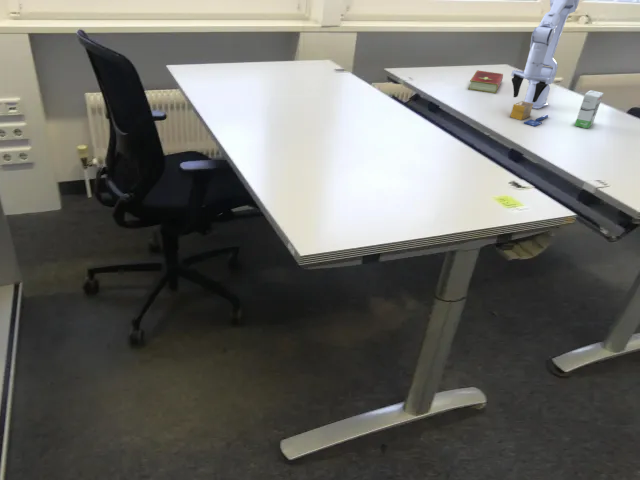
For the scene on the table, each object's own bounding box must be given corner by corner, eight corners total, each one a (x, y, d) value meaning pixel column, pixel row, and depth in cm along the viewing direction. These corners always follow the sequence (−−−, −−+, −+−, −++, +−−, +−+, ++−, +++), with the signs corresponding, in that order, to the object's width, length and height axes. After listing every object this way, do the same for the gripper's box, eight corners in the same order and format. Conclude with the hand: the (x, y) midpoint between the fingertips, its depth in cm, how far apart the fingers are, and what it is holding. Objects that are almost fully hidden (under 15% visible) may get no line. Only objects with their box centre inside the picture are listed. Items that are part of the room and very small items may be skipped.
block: (518, 113, 217) (522, 100, 214) (529, 116, 214) (533, 103, 211) (510, 117, 213) (513, 104, 210) (521, 120, 210) (524, 107, 207)
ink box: (587, 129, 204) (599, 97, 197) (573, 125, 206) (584, 94, 200) (593, 123, 210) (604, 92, 203) (579, 120, 212) (590, 89, 206)
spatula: (541, 115, 215) (542, 112, 215) (552, 118, 213) (553, 115, 212) (523, 123, 207) (524, 120, 206) (534, 126, 204) (535, 123, 203)
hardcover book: (501, 82, 256) (503, 73, 254) (496, 93, 240) (498, 83, 238) (475, 78, 260) (477, 69, 258) (468, 89, 244) (470, 79, 242)
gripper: (511, 59, 204) (502, 96, 212) (549, 67, 196) (538, 105, 203) (520, 57, 208) (510, 93, 216) (558, 64, 200) (546, 102, 207)
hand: (524, 99), depth 210 cm, fingers open, 7 cm apart
